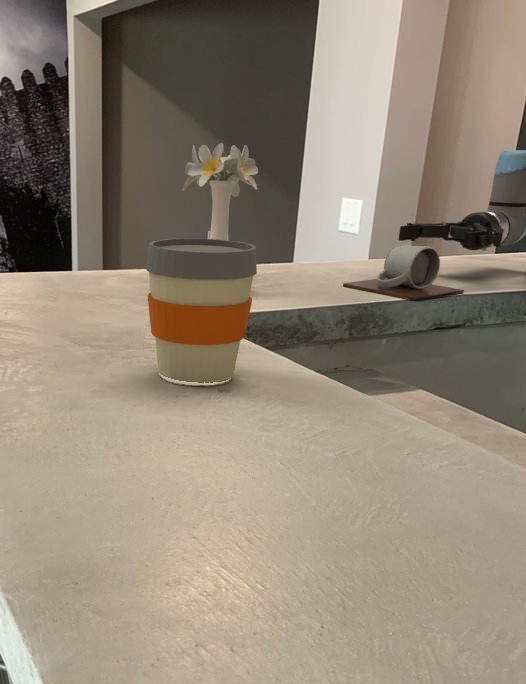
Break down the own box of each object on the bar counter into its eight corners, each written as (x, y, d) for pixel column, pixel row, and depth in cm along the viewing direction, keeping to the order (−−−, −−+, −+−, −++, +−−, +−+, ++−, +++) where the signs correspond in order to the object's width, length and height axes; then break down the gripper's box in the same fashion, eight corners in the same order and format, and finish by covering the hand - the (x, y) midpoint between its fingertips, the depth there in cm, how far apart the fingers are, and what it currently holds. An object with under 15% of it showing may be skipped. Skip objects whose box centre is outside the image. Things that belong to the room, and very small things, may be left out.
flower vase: (244, 283, 150) (255, 143, 139) (252, 301, 133) (265, 144, 123) (178, 281, 150) (184, 141, 140) (178, 299, 134) (184, 142, 123)
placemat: (463, 293, 146) (464, 290, 146) (417, 301, 138) (417, 297, 137) (389, 279, 158) (389, 276, 158) (342, 286, 150) (342, 283, 149)
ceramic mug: (406, 280, 153) (412, 240, 150) (437, 287, 147) (444, 246, 143) (365, 285, 149) (370, 243, 145) (395, 292, 142) (401, 249, 139)
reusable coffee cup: (254, 392, 86) (266, 254, 80) (144, 390, 86) (146, 251, 80) (241, 362, 98) (250, 239, 91) (143, 360, 97) (145, 237, 91)
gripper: (537, 256, 155) (490, 264, 142) (424, 242, 172) (373, 249, 158) (546, 216, 152) (499, 222, 139) (430, 207, 168) (378, 211, 155)
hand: (432, 236), depth 148 cm, fingers open, 13 cm apart
